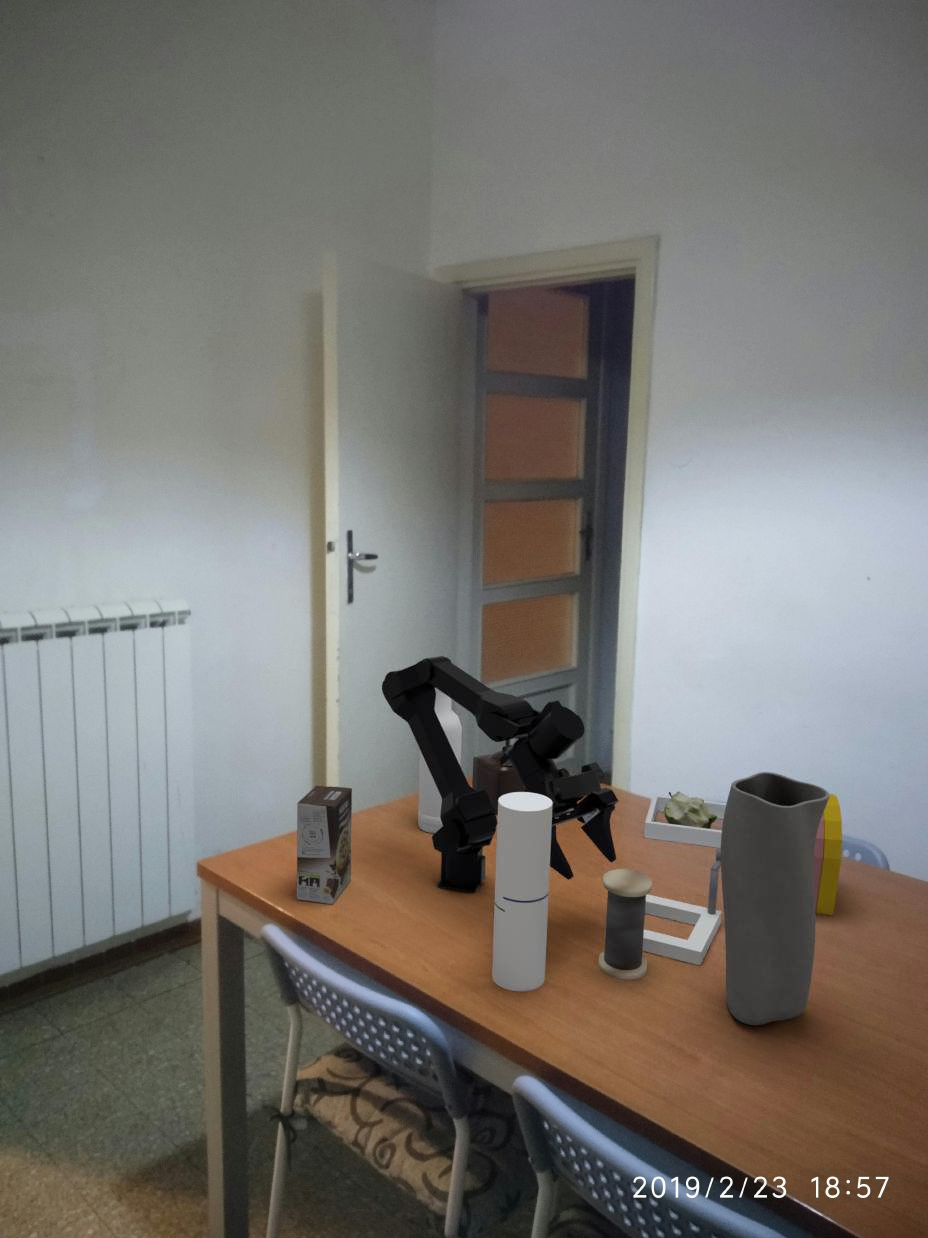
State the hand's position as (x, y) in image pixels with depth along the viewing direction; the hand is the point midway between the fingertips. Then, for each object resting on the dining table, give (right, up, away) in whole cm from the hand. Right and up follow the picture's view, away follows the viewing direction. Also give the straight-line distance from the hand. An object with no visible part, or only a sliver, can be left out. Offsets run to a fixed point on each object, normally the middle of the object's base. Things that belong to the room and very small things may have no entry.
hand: (593, 869), depth 134 cm
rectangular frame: (+12, -11, +9) cm, 19 cm away
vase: (+20, -15, -12) cm, 28 cm away
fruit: (+25, -5, +48) cm, 55 cm away
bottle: (-23, -4, +46) cm, 52 cm away
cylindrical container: (-11, -13, -6) cm, 18 cm away
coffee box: (-41, -8, +19) cm, 46 cm away
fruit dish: (+25, -5, +49) cm, 55 cm away
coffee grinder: (-8, -2, +60) cm, 61 cm away
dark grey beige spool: (+4, -13, -2) cm, 14 cm away
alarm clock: (+37, -10, +21) cm, 44 cm away
